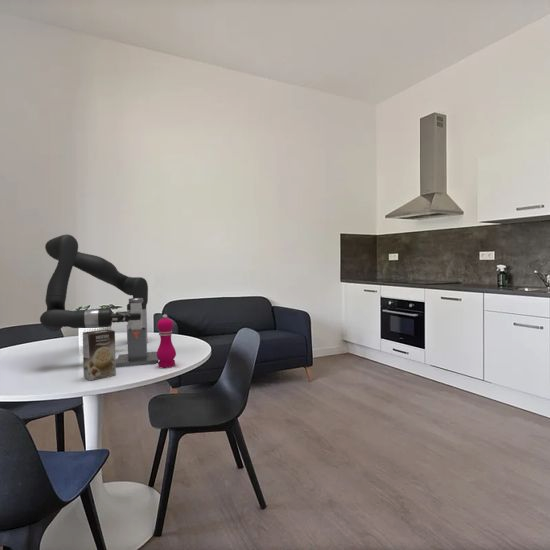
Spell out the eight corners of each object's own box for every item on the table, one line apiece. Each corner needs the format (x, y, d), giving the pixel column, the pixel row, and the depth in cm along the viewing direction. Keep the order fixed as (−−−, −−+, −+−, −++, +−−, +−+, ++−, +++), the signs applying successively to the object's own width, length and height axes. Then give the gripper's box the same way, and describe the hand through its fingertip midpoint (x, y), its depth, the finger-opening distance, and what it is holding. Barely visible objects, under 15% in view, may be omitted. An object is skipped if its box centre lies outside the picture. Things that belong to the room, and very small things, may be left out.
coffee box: (90, 381, 135) (88, 334, 134) (83, 377, 139) (81, 332, 139) (116, 375, 141) (115, 330, 141) (109, 372, 146) (107, 328, 145)
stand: (114, 367, 152) (113, 333, 152) (119, 358, 167) (118, 327, 167) (158, 363, 156) (157, 330, 156) (158, 354, 172) (157, 325, 171)
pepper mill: (159, 369, 148) (157, 316, 147) (155, 365, 154) (153, 314, 154) (178, 366, 151) (176, 314, 150) (173, 362, 157) (172, 312, 157)
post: (130, 358, 158) (127, 299, 158) (131, 355, 164) (129, 298, 163) (144, 356, 160) (142, 298, 159) (145, 353, 165) (143, 297, 164)
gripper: (95, 310, 150) (139, 308, 155) (100, 306, 164) (141, 304, 169) (95, 330, 151) (140, 327, 155) (101, 324, 164) (142, 322, 169)
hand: (141, 315), depth 162 cm, fingers open, 8 cm apart
